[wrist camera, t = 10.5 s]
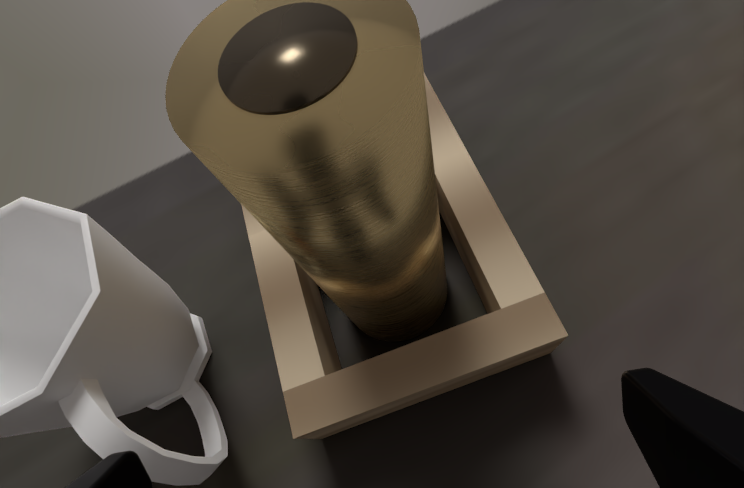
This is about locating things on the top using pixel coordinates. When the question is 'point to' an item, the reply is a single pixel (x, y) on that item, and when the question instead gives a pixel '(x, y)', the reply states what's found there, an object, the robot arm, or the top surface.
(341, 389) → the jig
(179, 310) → the cup
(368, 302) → the tan piece
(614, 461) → the top surface
